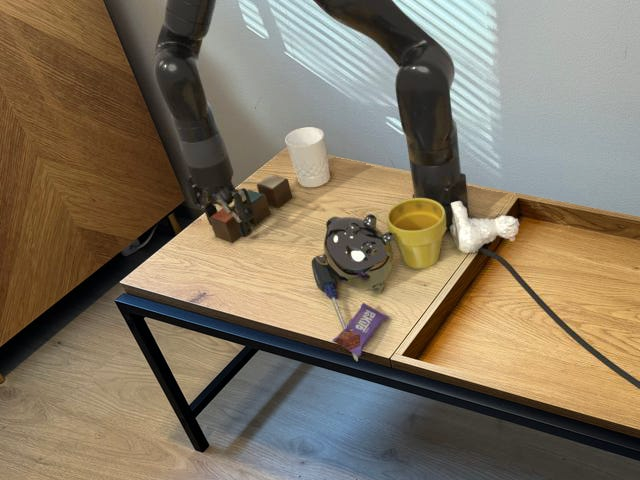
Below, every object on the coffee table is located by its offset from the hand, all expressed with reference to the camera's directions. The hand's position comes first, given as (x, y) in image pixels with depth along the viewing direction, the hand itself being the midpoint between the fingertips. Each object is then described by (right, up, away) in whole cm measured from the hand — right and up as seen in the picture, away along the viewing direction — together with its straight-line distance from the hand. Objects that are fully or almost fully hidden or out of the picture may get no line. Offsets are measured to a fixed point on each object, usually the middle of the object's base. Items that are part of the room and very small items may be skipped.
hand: (230, 229), depth 156 cm
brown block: (+7, +7, +8) cm, 13 cm away
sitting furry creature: (+44, -2, -10) cm, 45 cm away
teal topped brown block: (+3, +3, +5) cm, 7 cm away
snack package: (+27, -19, -25) cm, 41 cm away
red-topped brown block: (0, -1, +1) cm, 1 cm away
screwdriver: (+23, -17, -19) cm, 34 cm away
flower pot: (+38, -7, -9) cm, 39 cm away
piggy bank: (+30, -3, -20) cm, 37 cm away
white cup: (+13, +12, +14) cm, 23 cm away
